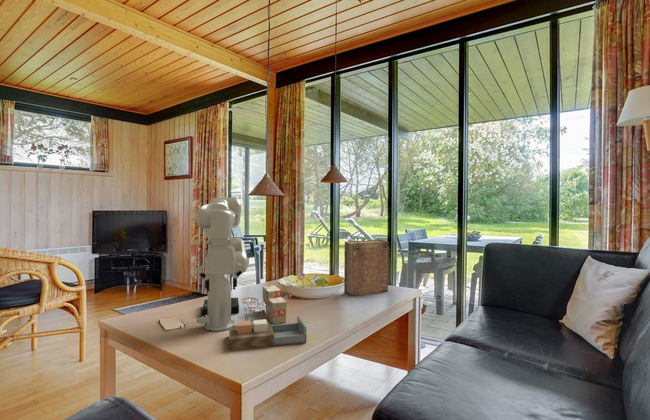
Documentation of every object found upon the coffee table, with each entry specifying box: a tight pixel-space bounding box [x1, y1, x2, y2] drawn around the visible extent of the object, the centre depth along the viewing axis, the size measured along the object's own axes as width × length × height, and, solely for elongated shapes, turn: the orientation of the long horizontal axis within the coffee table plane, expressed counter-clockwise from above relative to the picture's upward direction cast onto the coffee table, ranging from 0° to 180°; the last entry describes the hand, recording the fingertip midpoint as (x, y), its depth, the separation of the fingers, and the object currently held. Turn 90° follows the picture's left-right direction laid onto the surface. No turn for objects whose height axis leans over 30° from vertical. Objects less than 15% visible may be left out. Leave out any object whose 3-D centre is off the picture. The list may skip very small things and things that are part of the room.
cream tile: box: [252, 319, 269, 332], centre depth 137 cm, size 5×5×3 cm
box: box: [271, 315, 307, 347], centre depth 140 cm, size 12×14×6 cm
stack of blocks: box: [262, 284, 287, 325], centre depth 166 cm, size 21×6×12 cm, turn 21°
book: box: [343, 239, 390, 297], centre depth 211 cm, size 25×9×30 cm, turn 119°
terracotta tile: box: [236, 320, 252, 334], centre depth 135 cm, size 5×5×3 cm
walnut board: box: [228, 322, 275, 351], centre depth 136 cm, size 16×14×4 cm
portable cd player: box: [200, 297, 240, 317], centre depth 175 cm, size 16×17×4 cm
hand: (221, 289), depth 133 cm, fingers open, 8 cm apart
